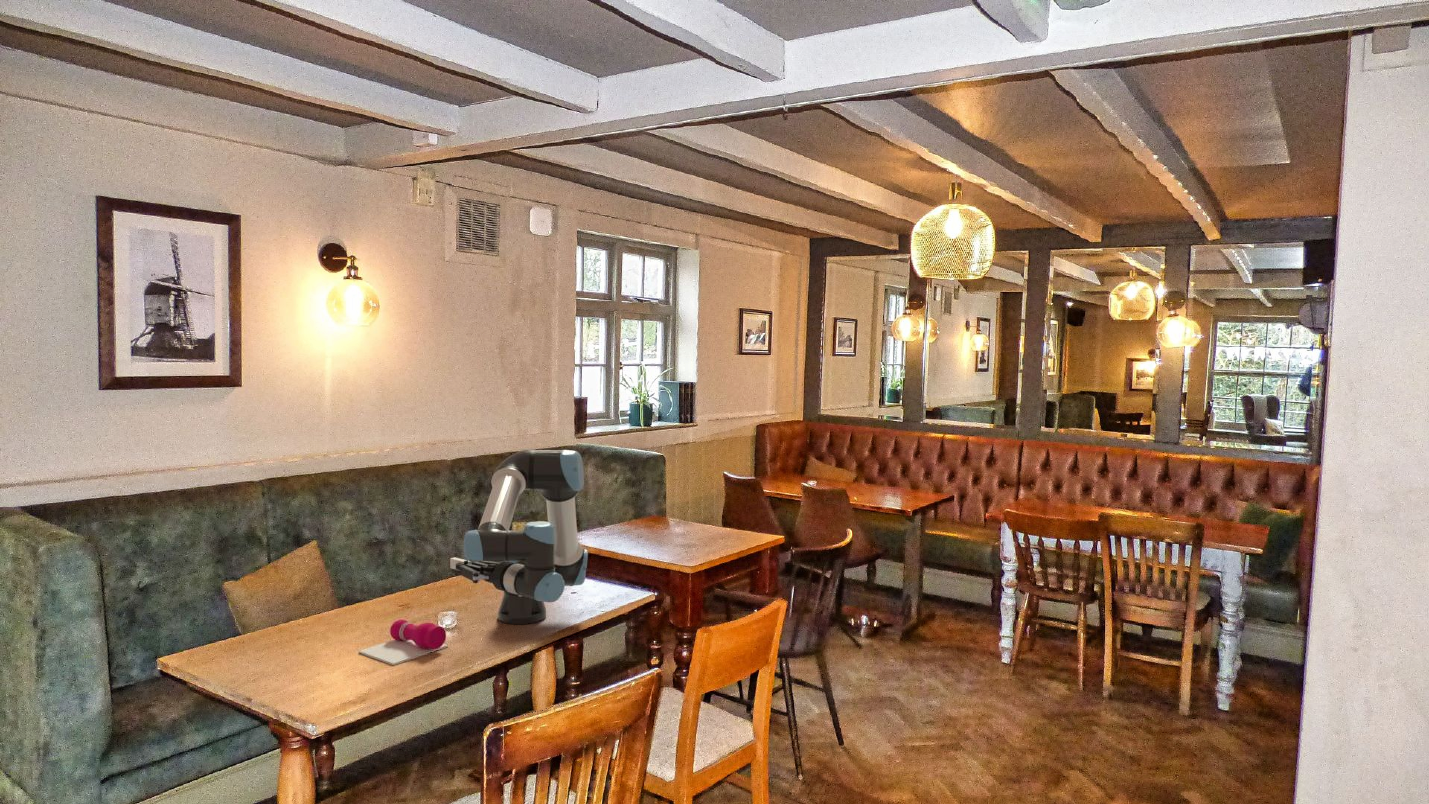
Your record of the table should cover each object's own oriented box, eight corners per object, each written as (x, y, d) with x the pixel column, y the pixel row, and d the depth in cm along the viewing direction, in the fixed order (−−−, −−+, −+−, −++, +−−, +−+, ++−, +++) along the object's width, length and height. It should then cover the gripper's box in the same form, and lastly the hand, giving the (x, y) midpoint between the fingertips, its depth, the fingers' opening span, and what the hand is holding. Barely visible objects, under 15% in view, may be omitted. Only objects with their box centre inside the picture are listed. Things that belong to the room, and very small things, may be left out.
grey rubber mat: (447, 647, 247) (447, 645, 247) (393, 665, 233) (393, 663, 232) (412, 635, 256) (412, 634, 256) (358, 652, 241) (358, 650, 241)
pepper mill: (449, 643, 246) (403, 633, 257) (445, 620, 245) (399, 611, 255) (430, 655, 240) (383, 645, 251) (425, 631, 239) (378, 622, 249)
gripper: (493, 598, 215) (432, 581, 228) (531, 586, 226) (471, 571, 239) (493, 569, 215) (432, 554, 228) (531, 558, 225) (471, 544, 239)
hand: (452, 562), depth 233 cm, fingers closed
